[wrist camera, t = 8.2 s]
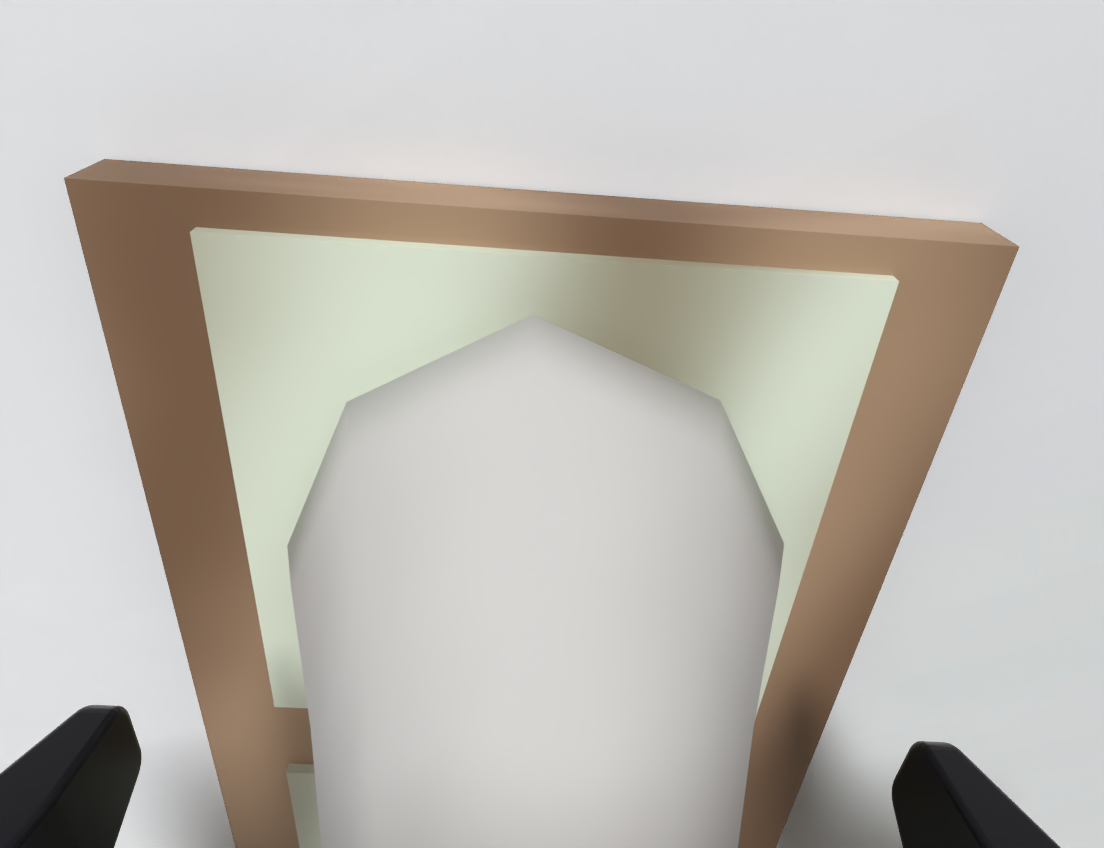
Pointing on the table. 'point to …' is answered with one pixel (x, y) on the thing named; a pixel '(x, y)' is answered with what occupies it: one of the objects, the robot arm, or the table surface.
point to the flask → (533, 605)
